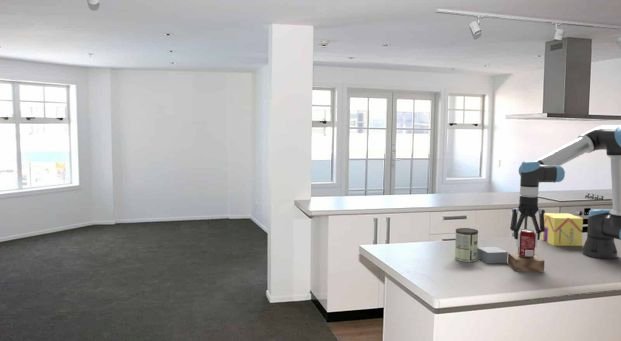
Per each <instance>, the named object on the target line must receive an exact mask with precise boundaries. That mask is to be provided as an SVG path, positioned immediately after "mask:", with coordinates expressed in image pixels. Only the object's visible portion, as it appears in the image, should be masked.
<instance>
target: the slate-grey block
mask: <svg viewBox="0 0 621 341" xmlns="http://www.w3.org/2000/svg"><path fill="white" fill-rule="evenodd" d="M508 253H509V252H508V251H507V250H505V249H503V248H500V247H497V246H488V247H487V246H485V247H483V246H482V247H480V246H479V247H478V246H477V259H479V260H480V261H483V262H484V263H485V264H501V263H502V264H506V263H507V264H508Z"/></svg>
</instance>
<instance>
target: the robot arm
mask: <svg viewBox="0 0 621 341" xmlns="http://www.w3.org/2000/svg"><path fill="white" fill-rule="evenodd" d="M599 150H605V151H606V156H607V157H608V158H609V159H610V173H611V175H610V176H611V196H612V208H611V209H610V208H608V209H607V208H605V209H604V208H599V209H597V208H596V209H595V208H594V209H590V210H588V215H587V233H586V234H587V235H586V236H587V237H586V240H585V242H584V244H583V245H582V246H583V247H582V253H581V254H582V255H585V256H587V257H591V258H596V259H597V258H598V259H608V260H609V259H617V258H618V250H617V245H616V243H615V239H616V240H619V241H621V124H611V125H610V124H604V125H599V126H596V127H594V128H592V129H590V130H588V131H586V132H584V133H582V134H579V135H578V136H577V139H574V140H572V141H570V142H569V143H567V144H565V145H562V146H561V147H559V148H557V149H555V150H553V151H552V152H549V153H548V154H546V155H544V156H542V157H539V158H537V159H536V160H534V161H533V160H524V161H522V162H521V164H520V166H519V168H518V174H519V176H520V181H519V184H520V186H519V195H520V196H519V200H518V201H519V204H518V207H517V208H511V211H512V214H511V221H510V228H509V229H510V230H511V231H513V232H514V236H513V238H514V240H515V246H516V247H517V248H518V247H520V230H521V227H522V224H523V222H524V220H525V219H526V218H528V217H529V218H530V219H531V220H532V225H533V227H534V229H535V230H534V234H535V249H537V248H538V241H540V240H541V232H544V231H545V227H544V213H545V212H546V210H545V209H543V208H539V207H538V206H539V197H538V196H539V185H540V183H560V182H562V181H563V180H564V179H565V175H566V171H565V169H564V168H563V166H562V165H565V164H566V163H568V162H570V161H572V160H574V159H576V158H579V157H580V156H582V155H584V154H586V153H587V154H591V153H592V152H595V151H599ZM519 212H520V214H519V218H518V220H517V216H518V213H519ZM537 213H538V214H539V215H538V216H539V217H538V218H539V223H538V220H537V216H536V214H537ZM516 222H517V223H516Z"/></svg>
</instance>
